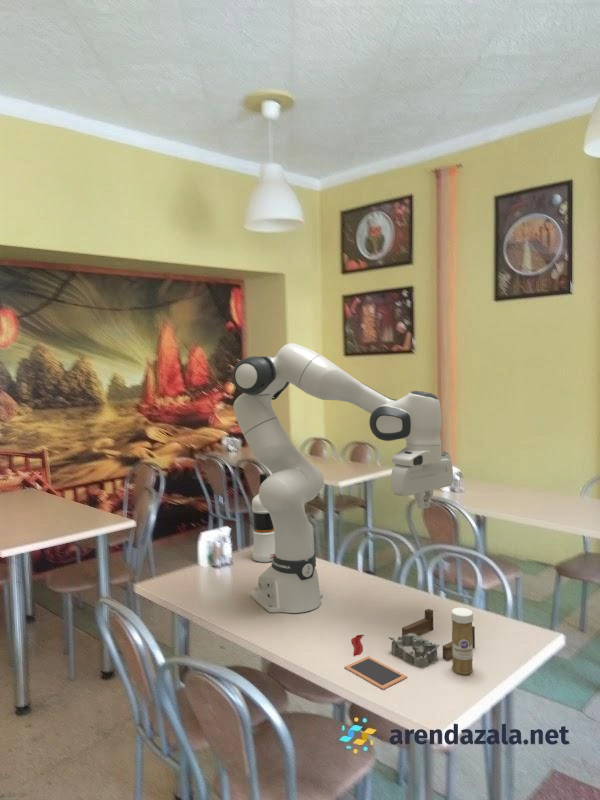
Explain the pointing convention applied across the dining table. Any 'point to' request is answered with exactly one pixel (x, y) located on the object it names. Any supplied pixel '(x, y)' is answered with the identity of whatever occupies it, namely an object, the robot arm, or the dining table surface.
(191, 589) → the dining table surface
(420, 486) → the robot arm
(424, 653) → the egg carton
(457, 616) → the sprinkles bottle
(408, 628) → the walled channel
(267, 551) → the vodka
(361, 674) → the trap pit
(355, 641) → the cayenne pepper
